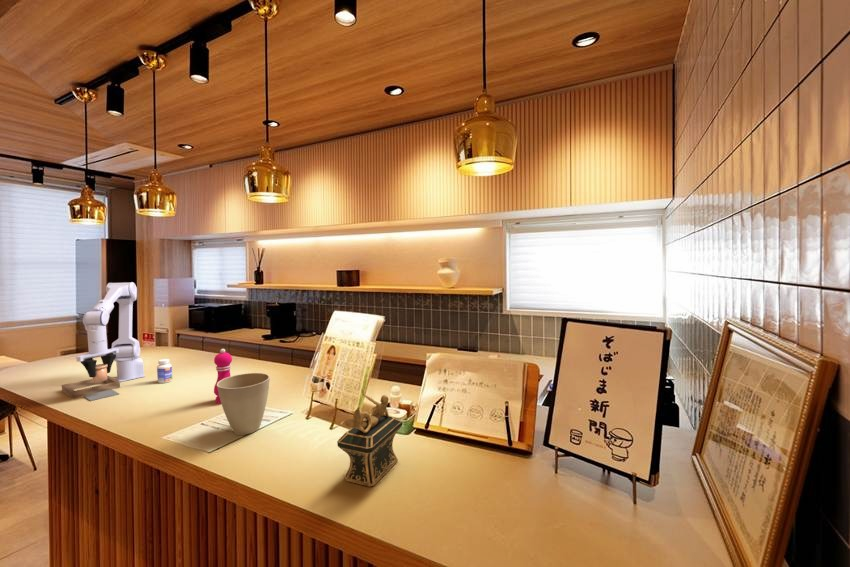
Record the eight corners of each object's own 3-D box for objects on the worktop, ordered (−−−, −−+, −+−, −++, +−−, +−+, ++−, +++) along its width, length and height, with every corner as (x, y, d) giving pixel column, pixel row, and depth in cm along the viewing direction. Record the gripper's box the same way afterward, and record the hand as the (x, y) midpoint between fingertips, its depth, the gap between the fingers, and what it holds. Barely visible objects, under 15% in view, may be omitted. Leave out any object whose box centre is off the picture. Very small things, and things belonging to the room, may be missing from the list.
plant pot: (235, 420, 128) (233, 372, 127) (279, 419, 127) (277, 372, 126) (208, 441, 113) (205, 388, 112) (258, 441, 112) (256, 387, 111)
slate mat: (111, 390, 160) (111, 389, 160) (119, 394, 155) (119, 393, 155) (83, 396, 153) (83, 395, 153) (90, 401, 147) (90, 400, 147)
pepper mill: (240, 398, 147) (237, 347, 146) (223, 405, 141) (220, 351, 139) (227, 396, 150) (224, 345, 149) (210, 402, 144) (207, 350, 142)
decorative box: (372, 450, 105) (371, 380, 104) (404, 457, 102) (402, 384, 100) (326, 491, 87) (324, 406, 86) (363, 501, 83) (360, 413, 82)
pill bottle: (167, 383, 168) (165, 361, 167) (154, 383, 168) (153, 361, 167) (175, 379, 173) (174, 358, 173) (163, 379, 173) (162, 358, 173)
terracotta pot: (101, 378, 156) (100, 363, 156) (112, 378, 155) (111, 363, 155) (88, 382, 151) (87, 366, 151) (98, 382, 150) (97, 367, 150)
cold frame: (108, 381, 172) (107, 375, 172) (120, 387, 163) (119, 381, 163) (62, 391, 160) (61, 385, 160) (71, 398, 151) (71, 392, 151)
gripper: (108, 337, 160) (110, 369, 161) (69, 344, 146) (71, 379, 147) (121, 337, 159) (124, 370, 159) (83, 345, 144) (86, 380, 145)
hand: (99, 374), depth 153 cm, fingers closed on terracotta pot, 5 cm apart
